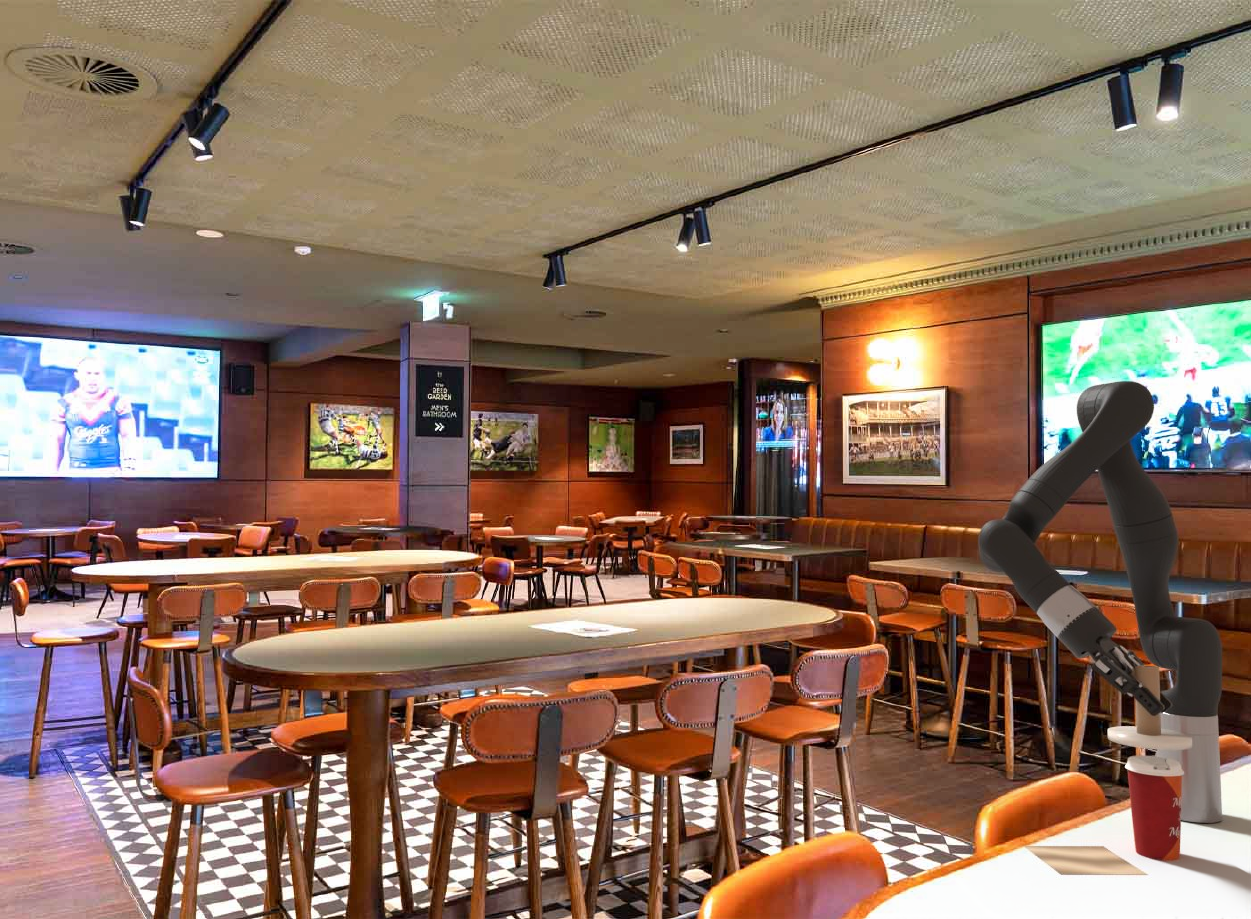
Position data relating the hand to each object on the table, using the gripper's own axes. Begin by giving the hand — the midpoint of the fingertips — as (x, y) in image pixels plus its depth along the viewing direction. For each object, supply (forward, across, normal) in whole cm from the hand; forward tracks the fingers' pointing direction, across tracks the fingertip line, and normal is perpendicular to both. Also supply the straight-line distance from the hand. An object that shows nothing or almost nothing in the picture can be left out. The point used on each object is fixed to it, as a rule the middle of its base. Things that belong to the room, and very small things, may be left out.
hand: (1163, 710), depth 140 cm
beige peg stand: (+2, 0, +5) cm, 5 cm away
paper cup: (+14, 0, +16) cm, 22 cm away
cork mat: (+9, -10, +21) cm, 25 cm away
